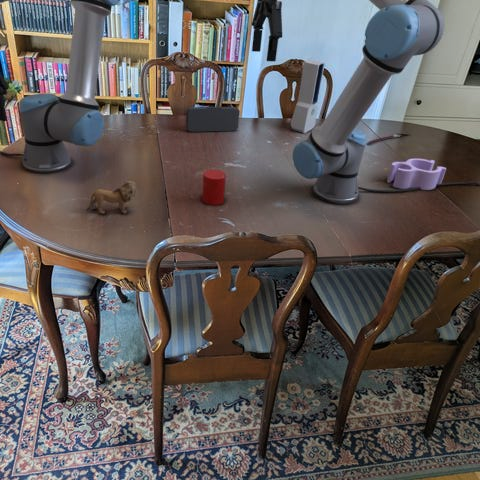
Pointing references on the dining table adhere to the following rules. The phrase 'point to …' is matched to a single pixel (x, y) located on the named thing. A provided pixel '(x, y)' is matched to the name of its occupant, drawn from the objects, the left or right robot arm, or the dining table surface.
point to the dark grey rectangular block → (212, 119)
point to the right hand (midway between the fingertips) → (263, 56)
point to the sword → (386, 138)
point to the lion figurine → (114, 196)
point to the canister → (213, 187)
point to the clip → (415, 174)
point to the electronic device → (308, 96)
